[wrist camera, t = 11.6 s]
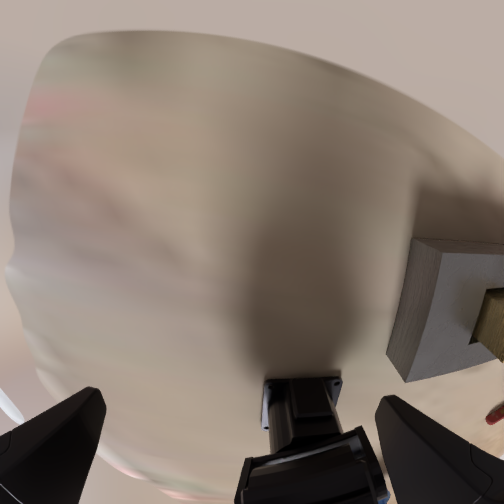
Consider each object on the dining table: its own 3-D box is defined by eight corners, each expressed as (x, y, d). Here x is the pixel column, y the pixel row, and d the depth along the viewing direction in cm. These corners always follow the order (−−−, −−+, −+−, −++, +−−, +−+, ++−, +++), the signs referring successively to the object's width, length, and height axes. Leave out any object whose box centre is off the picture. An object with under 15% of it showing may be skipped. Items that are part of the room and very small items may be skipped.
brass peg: (474, 312, 20) (525, 353, 13) (449, 315, 20) (502, 363, 13) (483, 277, 19) (541, 312, 12) (459, 278, 19) (520, 318, 12)
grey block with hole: (498, 333, 21) (518, 350, 17) (386, 354, 21) (405, 382, 17) (522, 245, 19) (548, 256, 15) (411, 237, 18) (442, 252, 15)
